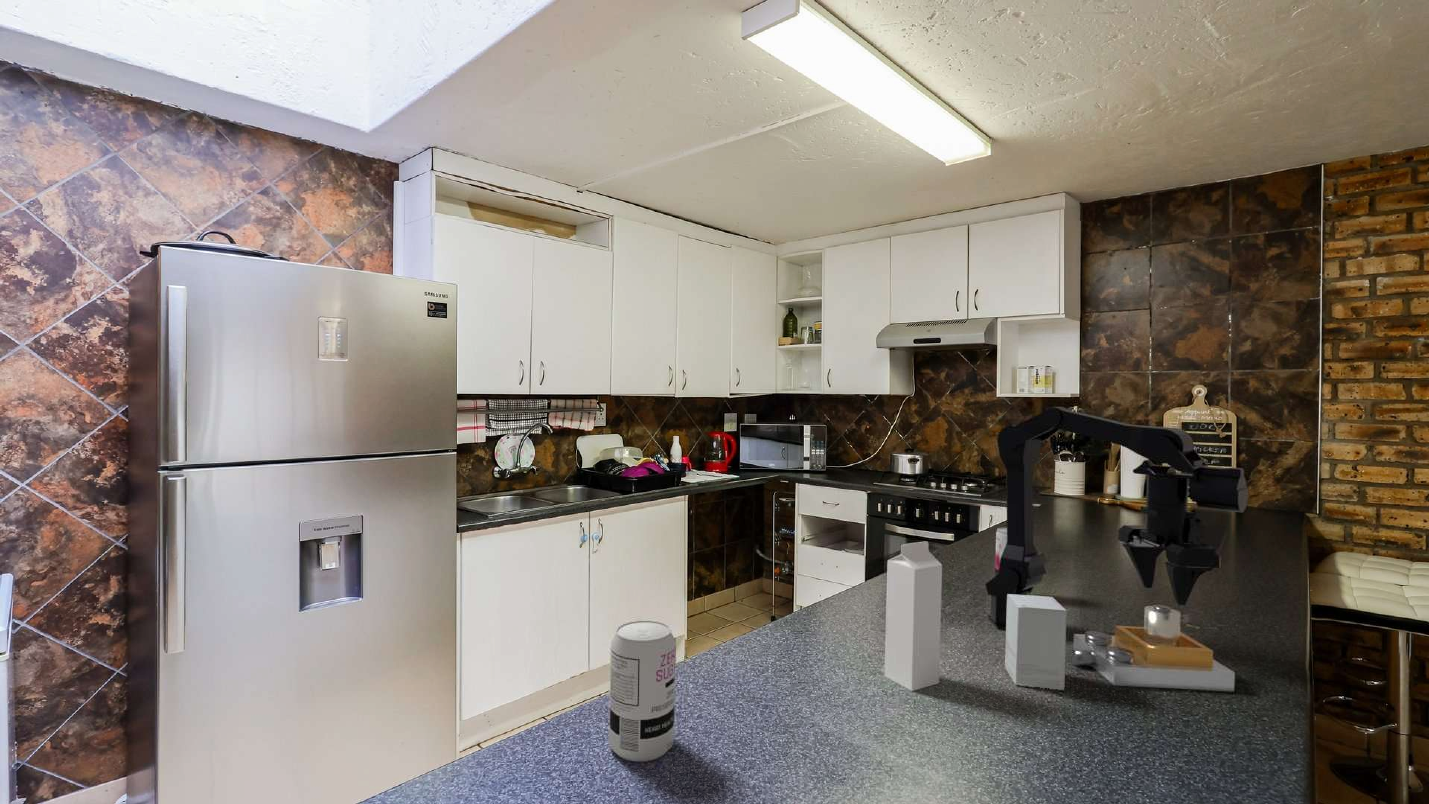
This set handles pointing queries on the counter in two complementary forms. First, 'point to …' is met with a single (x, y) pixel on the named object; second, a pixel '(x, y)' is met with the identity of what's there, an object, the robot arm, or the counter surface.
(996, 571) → the beverage can
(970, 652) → the counter surface
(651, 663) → the supplement can
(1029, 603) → the supplement box
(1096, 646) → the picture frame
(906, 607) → the milk
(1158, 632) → the spout can
